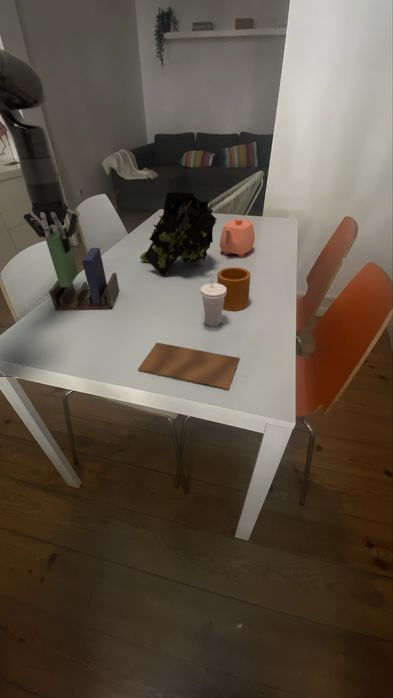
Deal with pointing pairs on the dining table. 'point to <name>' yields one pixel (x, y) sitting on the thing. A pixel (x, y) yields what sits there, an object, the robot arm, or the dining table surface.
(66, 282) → the green book
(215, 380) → the brown wooden board
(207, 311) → the smoothie
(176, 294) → the dining table surface
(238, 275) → the mug
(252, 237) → the teapot
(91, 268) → the navy book
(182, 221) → the potted plant
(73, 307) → the book rack
